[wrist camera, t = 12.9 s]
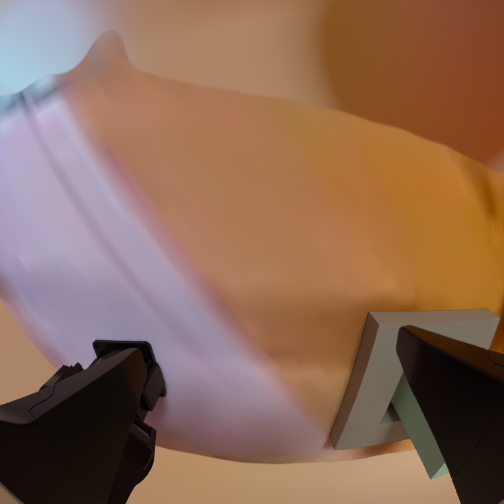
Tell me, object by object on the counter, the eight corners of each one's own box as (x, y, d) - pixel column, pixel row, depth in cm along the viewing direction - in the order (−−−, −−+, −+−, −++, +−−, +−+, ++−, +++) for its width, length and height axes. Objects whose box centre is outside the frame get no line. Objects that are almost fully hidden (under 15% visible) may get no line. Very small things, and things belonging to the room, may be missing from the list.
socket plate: (330, 434, 26) (334, 450, 23) (368, 311, 22) (379, 324, 20) (439, 416, 26) (447, 428, 23) (487, 308, 22) (500, 317, 20)
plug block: (389, 397, 25) (430, 479, 13) (403, 360, 23) (460, 443, 12) (424, 391, 25) (470, 462, 13) (439, 356, 23) (499, 425, 12)
